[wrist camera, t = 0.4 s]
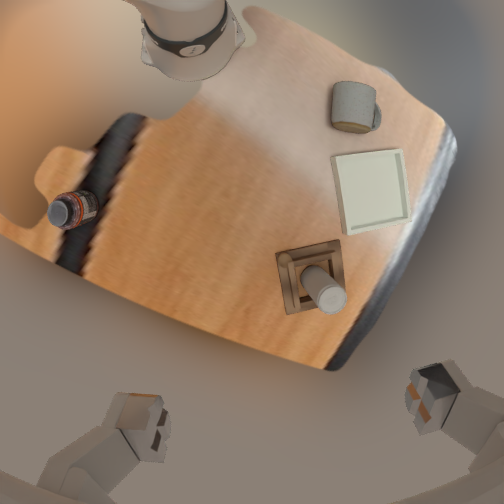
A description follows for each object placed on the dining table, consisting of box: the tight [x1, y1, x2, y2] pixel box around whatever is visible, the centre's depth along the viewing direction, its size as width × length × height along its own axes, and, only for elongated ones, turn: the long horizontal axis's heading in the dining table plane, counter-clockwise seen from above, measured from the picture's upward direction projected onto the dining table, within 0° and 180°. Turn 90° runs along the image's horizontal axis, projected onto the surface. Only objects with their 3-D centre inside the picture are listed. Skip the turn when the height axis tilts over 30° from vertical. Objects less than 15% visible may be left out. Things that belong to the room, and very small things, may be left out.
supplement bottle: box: [47, 190, 99, 230], centre depth 45 cm, size 6×6×11 cm
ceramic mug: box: [331, 81, 381, 133], centre depth 48 cm, size 11×8×8 cm
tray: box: [330, 149, 412, 235], centre depth 54 cm, size 14×14×3 cm
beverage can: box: [301, 266, 347, 314], centre depth 52 cm, size 5×5×12 cm
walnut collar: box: [275, 240, 346, 315], centre depth 56 cm, size 12×12×2 cm
